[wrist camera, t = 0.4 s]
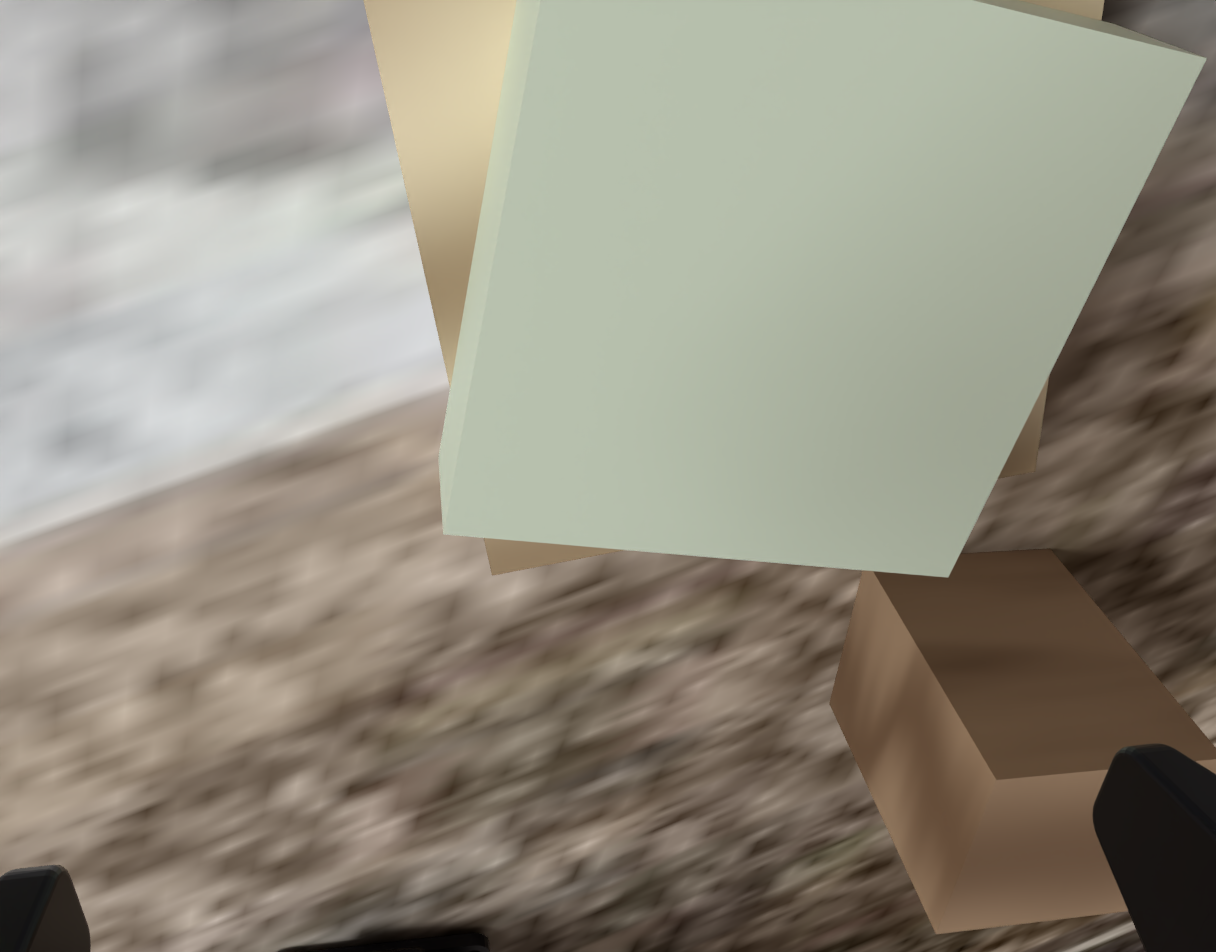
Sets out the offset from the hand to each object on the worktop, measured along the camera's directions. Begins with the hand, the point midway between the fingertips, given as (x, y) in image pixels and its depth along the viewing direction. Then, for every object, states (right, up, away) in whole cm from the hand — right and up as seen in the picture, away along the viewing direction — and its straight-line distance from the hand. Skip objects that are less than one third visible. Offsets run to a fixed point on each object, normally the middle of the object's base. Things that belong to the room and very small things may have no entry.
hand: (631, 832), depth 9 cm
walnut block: (+8, -1, +19) cm, 21 cm away
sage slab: (+2, +7, +10) cm, 13 cm away
